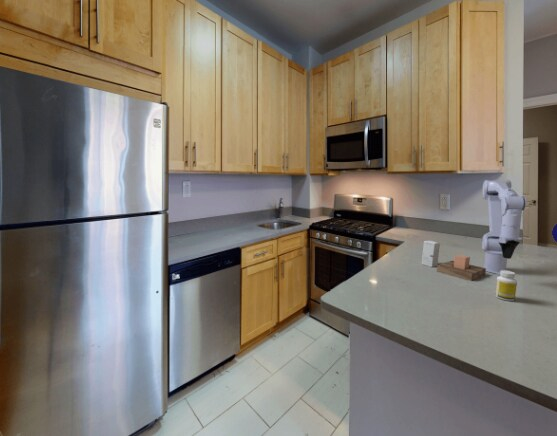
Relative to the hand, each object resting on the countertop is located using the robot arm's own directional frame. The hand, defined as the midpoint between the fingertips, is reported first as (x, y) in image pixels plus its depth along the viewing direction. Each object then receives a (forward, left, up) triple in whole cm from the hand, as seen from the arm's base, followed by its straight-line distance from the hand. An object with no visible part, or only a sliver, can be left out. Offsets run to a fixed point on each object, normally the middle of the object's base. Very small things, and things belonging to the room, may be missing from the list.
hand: (507, 258), depth 106 cm
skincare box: (+3, -29, -11) cm, 31 cm away
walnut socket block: (+3, -15, -10) cm, 19 cm away
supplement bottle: (+19, +6, -11) cm, 23 cm away
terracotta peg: (+3, -15, -10) cm, 19 cm away
